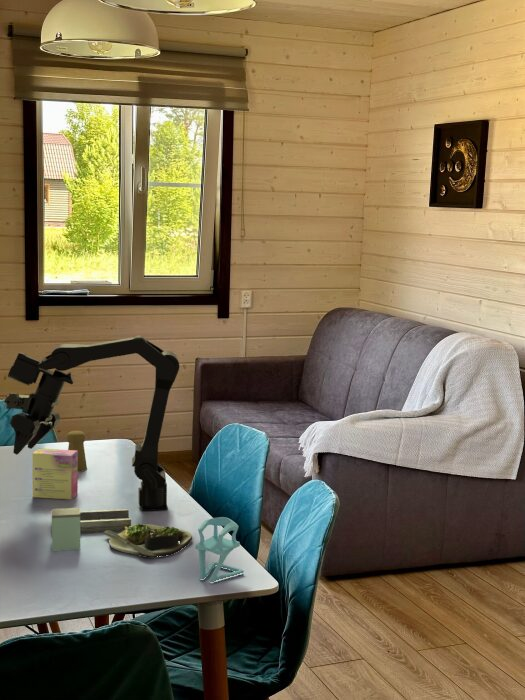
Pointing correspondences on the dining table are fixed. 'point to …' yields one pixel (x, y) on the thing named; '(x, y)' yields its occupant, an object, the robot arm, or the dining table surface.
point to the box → (55, 473)
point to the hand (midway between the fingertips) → (22, 450)
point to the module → (65, 529)
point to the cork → (78, 447)
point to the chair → (217, 547)
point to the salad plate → (149, 540)
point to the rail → (104, 521)
